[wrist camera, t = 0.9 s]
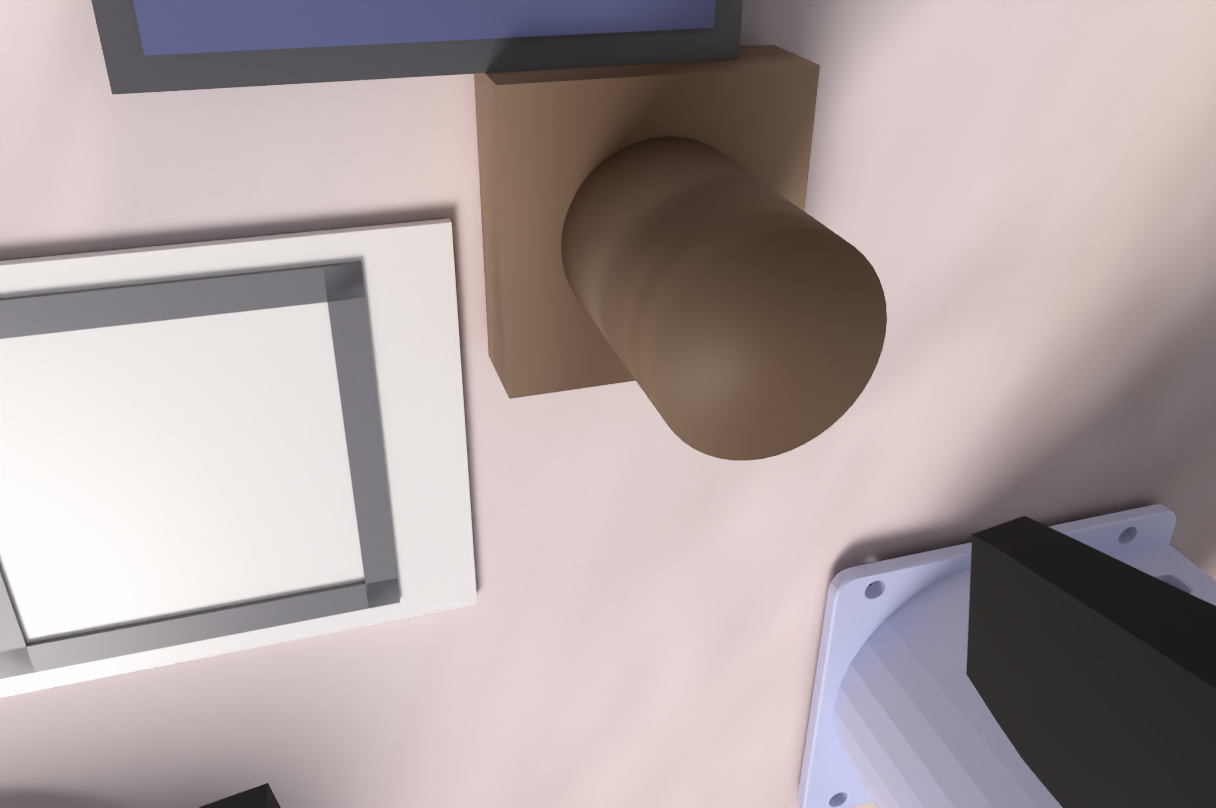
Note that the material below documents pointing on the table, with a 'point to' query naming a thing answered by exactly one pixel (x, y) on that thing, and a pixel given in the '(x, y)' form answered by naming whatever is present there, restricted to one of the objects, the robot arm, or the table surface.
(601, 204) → the stamp
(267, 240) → the paper
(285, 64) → the ink pad
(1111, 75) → the table surface
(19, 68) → the table surface
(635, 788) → the table surface
